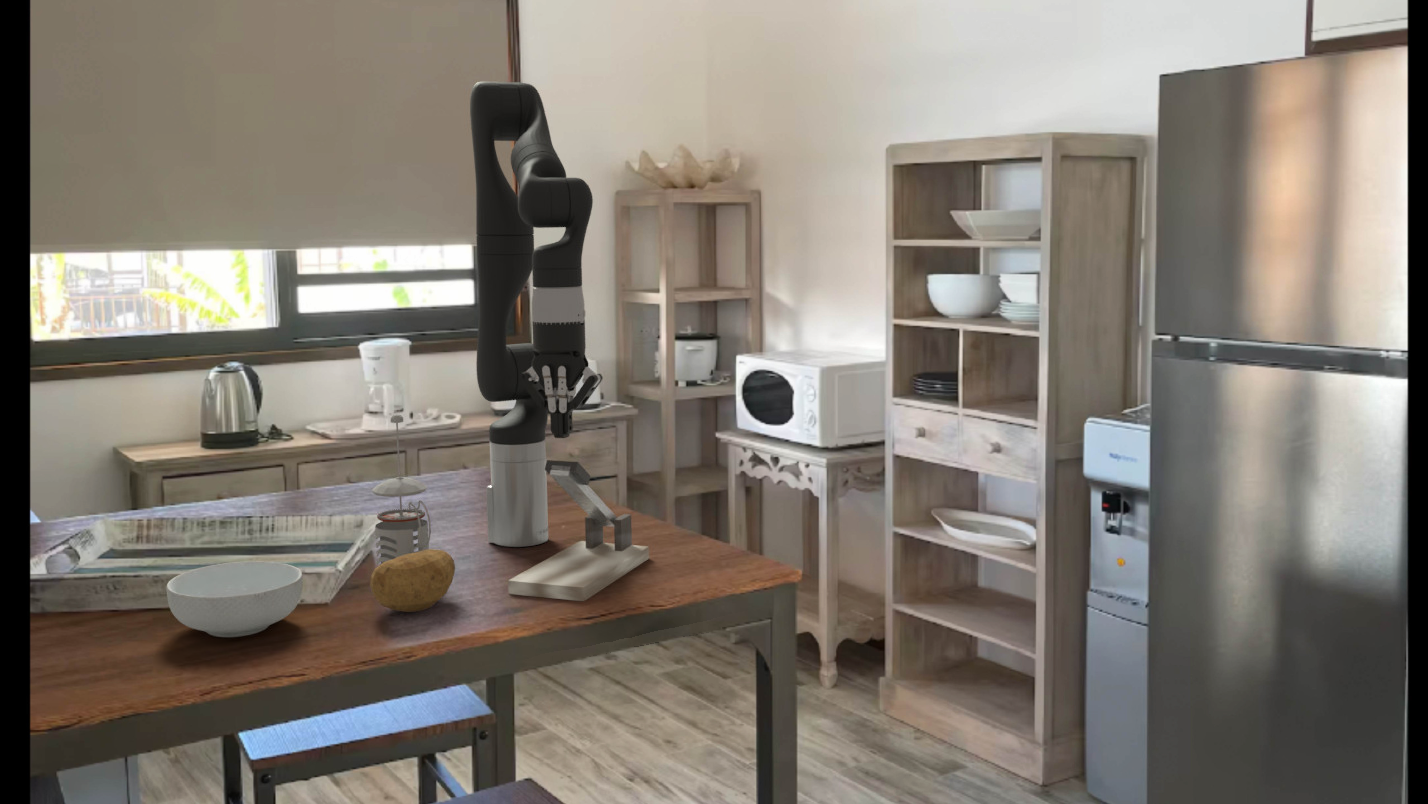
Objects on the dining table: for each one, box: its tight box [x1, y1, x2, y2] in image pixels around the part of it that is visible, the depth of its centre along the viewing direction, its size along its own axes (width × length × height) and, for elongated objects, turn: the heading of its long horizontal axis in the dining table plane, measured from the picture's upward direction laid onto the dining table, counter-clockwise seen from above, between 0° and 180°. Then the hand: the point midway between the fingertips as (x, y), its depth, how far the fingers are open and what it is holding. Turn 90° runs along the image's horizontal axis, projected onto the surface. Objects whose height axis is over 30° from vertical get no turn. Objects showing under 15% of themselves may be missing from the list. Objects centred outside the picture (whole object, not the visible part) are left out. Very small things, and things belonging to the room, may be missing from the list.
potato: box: [369, 548, 456, 613], centre depth 179 cm, size 10×14×8 cm
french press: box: [371, 414, 432, 565], centre depth 193 cm, size 10×12×25 cm
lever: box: [545, 459, 618, 528], centre depth 195 cm, size 5×21×2 cm
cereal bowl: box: [165, 560, 303, 638], centre depth 171 cm, size 17×17×7 cm
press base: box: [507, 513, 650, 602], centre depth 194 cm, size 12×24×7 cm, turn 160°
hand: (562, 437), depth 187 cm, fingers closed
